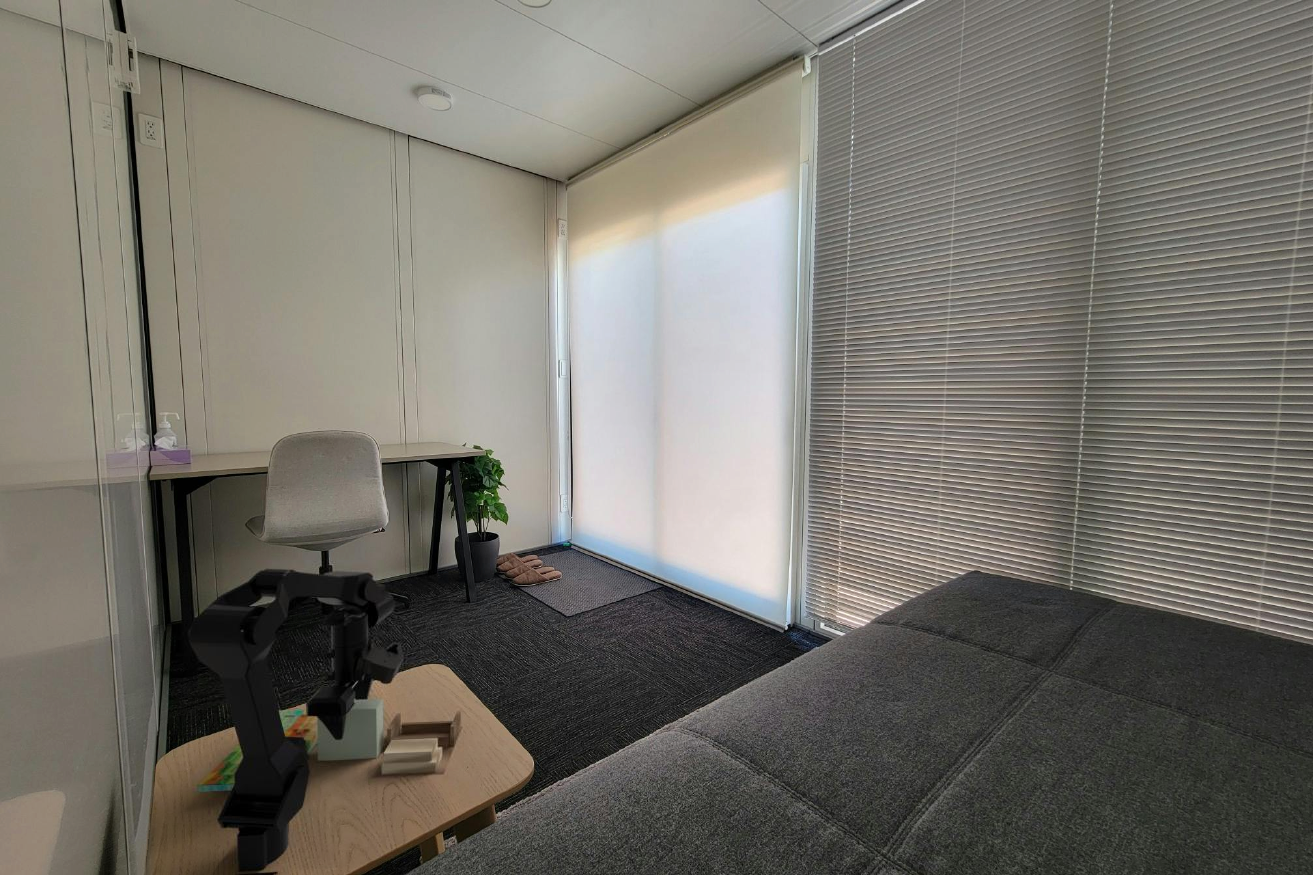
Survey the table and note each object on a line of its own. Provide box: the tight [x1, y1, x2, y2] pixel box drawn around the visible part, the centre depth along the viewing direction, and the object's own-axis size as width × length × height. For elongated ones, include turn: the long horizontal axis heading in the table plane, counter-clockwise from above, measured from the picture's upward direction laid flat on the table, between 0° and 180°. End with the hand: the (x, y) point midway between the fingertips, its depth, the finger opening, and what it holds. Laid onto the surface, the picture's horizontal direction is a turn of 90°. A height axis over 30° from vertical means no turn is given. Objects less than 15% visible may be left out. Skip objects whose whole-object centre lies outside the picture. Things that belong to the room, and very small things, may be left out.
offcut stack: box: [382, 738, 442, 775], centre depth 94 cm, size 4×9×4 cm, turn 97°
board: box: [317, 698, 384, 762], centre depth 96 cm, size 3×10×10 cm, turn 97°
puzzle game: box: [197, 709, 318, 793], centre depth 95 cm, size 12×5×20 cm
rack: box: [371, 710, 463, 778], centre depth 98 cm, size 13×12×5 cm
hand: (351, 722), depth 96 cm, fingers open, 9 cm apart
